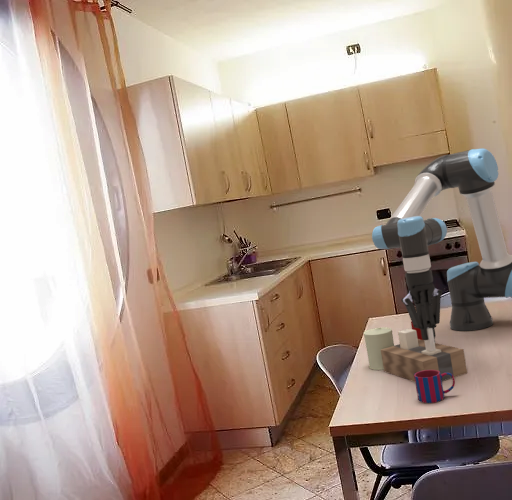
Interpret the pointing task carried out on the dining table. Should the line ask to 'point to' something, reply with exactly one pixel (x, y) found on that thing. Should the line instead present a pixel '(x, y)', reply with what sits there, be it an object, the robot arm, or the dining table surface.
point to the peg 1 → (408, 339)
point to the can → (377, 345)
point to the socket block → (423, 361)
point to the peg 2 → (431, 352)
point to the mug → (431, 385)
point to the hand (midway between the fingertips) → (430, 349)
